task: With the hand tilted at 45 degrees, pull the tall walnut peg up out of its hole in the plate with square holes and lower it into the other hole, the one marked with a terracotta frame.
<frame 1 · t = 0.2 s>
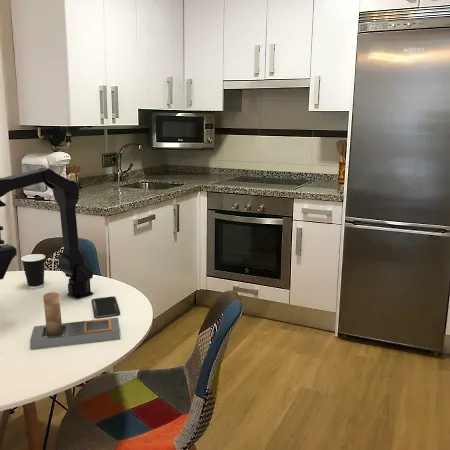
dixie cup: (36, 287, 172), on the table
peg: (55, 339, 132), resting in plate with square holes
phone: (105, 309, 153), on the table
plate with square holes: (77, 336, 133), on the table
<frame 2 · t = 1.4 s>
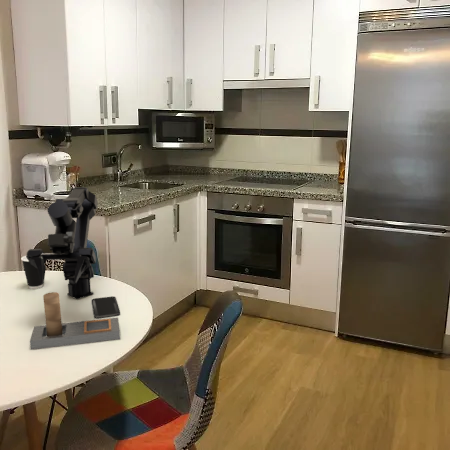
hand: (58, 283, 136), 13 cm above the table, tool tilted 45°, fingers open, 9 cm apart
nothing on the table moved.
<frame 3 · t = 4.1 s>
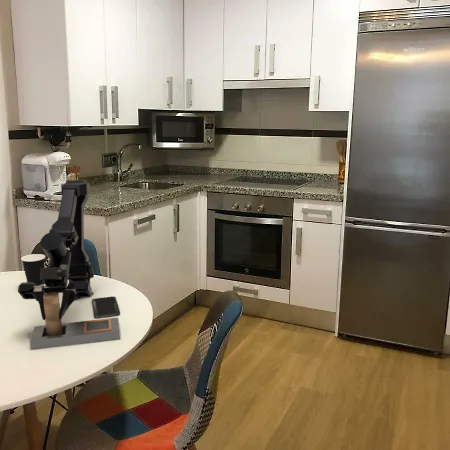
hand: (51, 319, 129), 7 cm above the table, tool tilted 45°, fingers closed on peg, 4 cm apart
peg: (55, 339, 132), resting in plate with square holes, touching gripper
everything else where it was.
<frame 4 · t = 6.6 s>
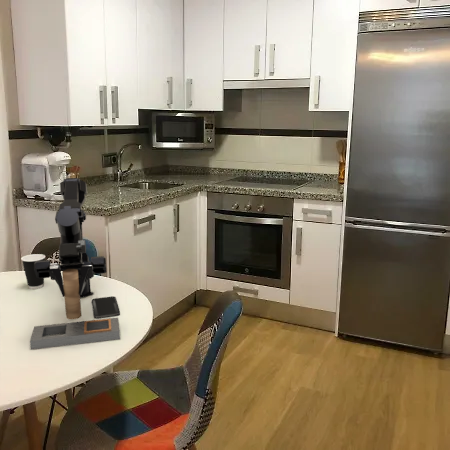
hand: (71, 295, 128), 13 cm above the table, tool tilted 45°, fingers closed on peg, 4 cm apart
peg: (73, 316, 131), point 6 cm above the table, touching gripper
everything else where it was.
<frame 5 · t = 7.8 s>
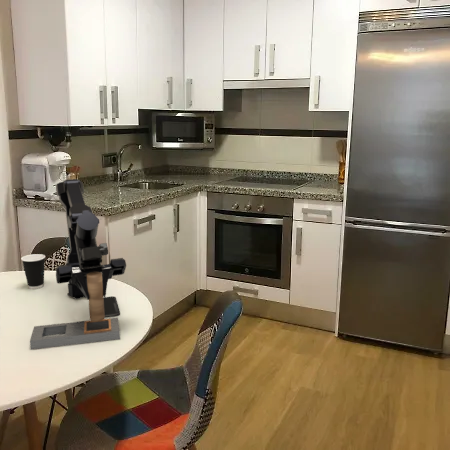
hand: (96, 297, 131), 11 cm above the table, tool tilted 45°, fingers closed on peg, 4 cm apart
peg: (97, 318, 133), point 5 cm above the table, touching gripper
everything else where it was.
when the fingers open (7 cm above the table, at t = 8.9 s): peg stays where it is, resting in plate with square holes.
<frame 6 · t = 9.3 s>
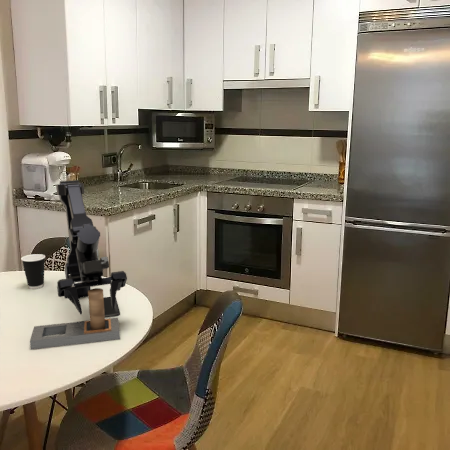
hand: (97, 311, 132), 8 cm above the table, tool tilted 45°, fingers open, 8 cm apart
peg: (98, 334, 135), resting in plate with square holes
everything else where it was.
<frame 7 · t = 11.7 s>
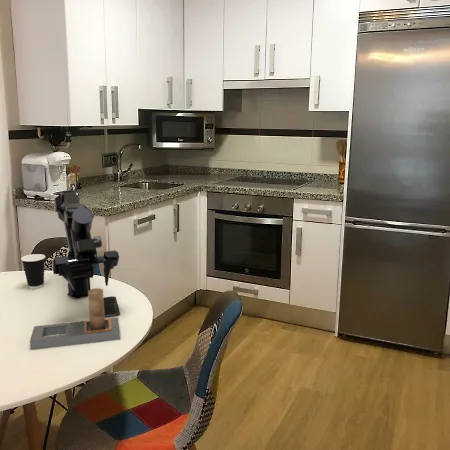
hand: (91, 287, 139), 11 cm above the table, tool tilted 45°, fingers open, 9 cm apart
nothing on the table moved.
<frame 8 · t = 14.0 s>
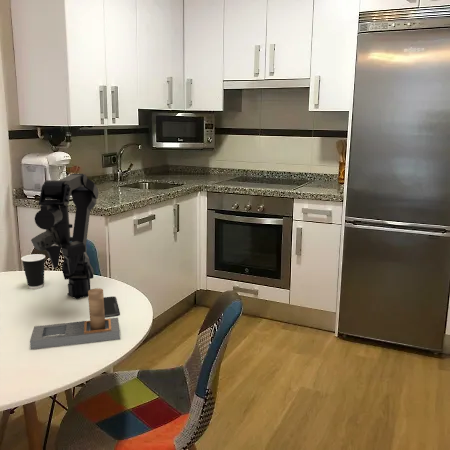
hand: (63, 270, 148), 13 cm above the table, tool pointing down, fingers open, 9 cm apart
nothing on the table moved.
at the end: peg 0.1 cm from the target spot, resting in plate with square holes; peg tilted 0°; the gripper is holding nothing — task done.
